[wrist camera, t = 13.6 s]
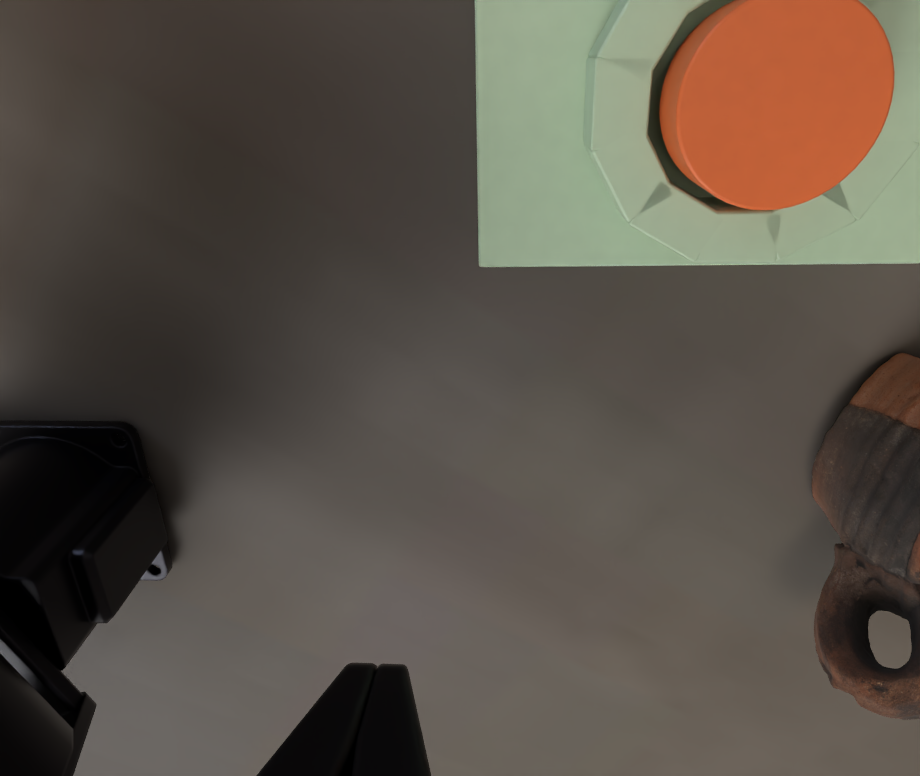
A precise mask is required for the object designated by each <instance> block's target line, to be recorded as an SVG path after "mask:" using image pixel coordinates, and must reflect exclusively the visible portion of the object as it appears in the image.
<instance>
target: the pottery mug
mask: <svg viewBox="0 0 920 776" xmlns="http://www.w3.org/2000/svg"><path fill="white" fill-rule="evenodd" d="M812 475H813V478H812V493H813V498H814V499H815V501H816V502H817V503H818V504H819V506H820V507H821V508H822V510H823V511H824V513H825V514H826V516H827V517H828V519H829V521H830V523H831V525H832V526H833V528H834V530H835V531H836V532H837V533H838V534H839V536H840V539H841V541H842V542H843V543H841V544H836V545H835V547H834V550H835V563H834V566H833V569H832V571H831V573H830V575H829V577H828V578H827V580H826V582H825V585H824V587H823V589H822V592H821V596H820V599H819V601H818V605H817V609H816V612H815V620H814V637H815V643H816V651H817V653H818V657H819V661H820V663H821V665H822V667H823V670H824V671H825V672H826V673H827V675H828V677H829V680H830V683H831V685H832V686H833V687H834V688H836V689H839V690H842V691H845V692H847V693H849V694H851V695H853V696H854V698H855V699H856V701H857V703H858V704H859V705H860V706H861V707H863V708H865V709H867V710H870V711H872V712H874V713H876V714H879V715H882V716H886V717H890V718H899V719H920V358H917V357H914V356H911V355H909V354H906V353H899V354H896V355H894V356H893V357H892V358H891V359H890V360H889V361H887V362H886V363H884V364H883V365H881V366H880V367H879V368H878V369H877V370H876V371H875V372H874V373H873V374H872V376H871V377H869V378H868V379H867V380H866V381H865V382H864V383H863V384H862V386H861V387H860V389H859V391H858V392H857V393H856V394H855V395H854V396H853V397H852V399H851V401H850V403H849V404H848V405H847V406H846V407H845V408H844V409H843V410H842V412H841V413H840V415H839V417H838V418H837V420H836V422H835V423H834V425H833V427H832V428H831V429H830V430H829V431H828V432H827V433H826V435H825V438H824V441H823V444H822V446H821V448H820V450H819V452H818V453H817V455H816V459H815V462H814V465H813V470H812ZM878 610H882V611H889V612H892V613H894V614H896V615H899V616H900V617H902V618H905V619H907V620H908V621H909V624H910V629H911V642H912V652H911V656H910V659H909V661H908V662H907V663H906V664H905V665H904V666H902V667H900V668H898V669H892V668H887V667H883V666H882V665H880V664H879V663H878V662H877V661H876V659H875V657H874V655H873V653H872V650H871V648H870V643H869V639H868V621H869V618H870V616H871V615H872V614H873V613H875V612H876V611H878Z"/></svg>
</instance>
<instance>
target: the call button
mask: <svg viewBox="0 0 920 776" xmlns="http://www.w3.org/2000/svg"><path fill="white" fill-rule="evenodd" d="M894 73H895V72H894V62H893V55H892V51H891V47H890V43H889V41H888V39H887V36H886V34H885V31H884V29H883V28H882V26H881V24H880V23H879V21H878V19H877V18H876V17H875V16H874V14H873V13H872V12H871V11H870V10H869V9H868V8H867V7H866V6H865V5H864V4H863V3H861V2H860V1H859V0H734V1H732V2H730V3H728V4H726V5H724V6H722V7H721V8H719V9H717V10H716V11H715V12H713V13H712V14H710V15H709V16H708V17H706V18H705V19H704V20H703V21H702V22H701V23H700V24H698V25H697V26H696V27H695V28H694V30H693V31H692V32H691V33H690V34H689V35H688V36H687V37H686V39H685V40H684V42H683V43H682V44H681V46H680V47H679V49H678V50H677V52H676V54H675V56H674V58H673V59H672V61H671V63H670V66H669V68H668V71H667V73H666V76H665V79H664V83H663V86H662V91H661V97H660V109H659V118H660V128H661V132H662V137H663V141H664V143H665V146H666V148H667V151H668V153H669V155H670V157H671V158H672V160H673V162H674V163H675V164H676V166H677V167H678V168H679V170H680V171H681V172H682V173H683V174H684V175H685V176H686V177H687V178H688V179H690V180H691V181H693V182H694V183H695V184H697V185H698V186H700V187H701V188H703V189H704V190H706V191H707V192H709V193H710V194H712V195H713V196H715V197H716V198H718V199H720V200H722V201H724V202H726V203H728V204H731V205H734V206H737V207H740V208H745V209H751V210H778V209H783V208H788V207H793V206H796V205H799V204H802V203H805V202H807V201H809V200H812V199H814V198H816V197H818V196H820V195H822V194H823V193H825V192H827V191H828V190H830V189H832V188H833V187H834V186H836V185H837V184H838V183H840V182H841V181H842V180H843V179H845V178H846V177H847V176H848V175H849V174H850V173H851V172H852V171H853V170H854V169H855V168H856V167H857V166H858V165H859V164H860V163H861V161H862V160H863V159H864V158H865V157H866V155H867V154H868V152H869V151H870V149H871V148H872V147H873V145H874V144H875V142H876V140H877V138H878V136H879V134H880V133H881V131H882V128H883V126H884V124H885V121H886V119H887V116H888V113H889V109H890V106H891V102H892V96H893V90H894Z"/></svg>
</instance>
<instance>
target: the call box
mask: <svg viewBox="0 0 920 776" xmlns="http://www.w3.org/2000/svg"><path fill="white" fill-rule="evenodd" d="M732 1H734V0H475V51H476V116H477V181H478V246H479V266H481V267H551V266H670V265H788V264H907V263H920V0H859V1H860V2H861V3H863V4H864V5H865V6H866V7H867V8H868V9H869V10H870V11H871V12H872V13H873V14H874V16H875V17H876V18H877V19H878V21H879V23H880V24H881V26H882V28H883V29H884V31H885V34H886V36H887V39H888V41H889V43H890V47H891V51H892V55H893V62H894V72H895V73H894V90H893V96H892V102H891V106H890V109H889V113H888V116H887V119H886V121H885V124H884V126H883V128H882V131H881V133H880V134H879V136H878V138H877V140H876V142H875V144H874V145H873V147H872V148H871V149H870V151H869V152H868V154H867V155H866V157H865V158H864V159H863V160H862V161H861V163H860V164H859V165H858V166H857V167H856V168H855V169H854V170H853V171H852V172H851V173H850V174H849V175H848V176H847V177H846V178H845V179H843V180H842V181H841V182H840V183H838V184H837V185H836V186H834V187H833V188H832V189H830V190H828V191H827V192H825V193H823V194H822V195H820V196H818V197H816V198H814V199H812V200H809V201H807V202H805V203H802V204H799V205H796V206H793V207H788V208H783V209H778V210H751V209H745V208H740V207H737V206H734V205H731V204H728V203H726V202H724V201H722V200H720V199H718V198H716V197H715V196H713V195H712V194H710V193H709V192H707V191H706V190H704V189H703V188H701V187H700V186H698V185H697V184H695V183H694V182H693V181H691V180H690V179H688V178H687V177H686V176H685V175H684V174H683V173H682V172H681V171H680V170H679V168H678V167H677V166H676V164H675V163H674V162H673V160H672V158H671V157H670V155H669V153H668V151H667V148H666V146H665V143H664V141H663V137H662V132H661V128H660V118H659V109H660V97H661V91H662V86H663V83H664V79H665V76H666V73H667V71H668V68H669V66H670V63H671V61H672V59H673V58H674V56H675V54H676V52H677V50H678V49H679V47H680V46H681V44H682V43H683V42H684V40H685V39H686V37H687V36H688V35H689V34H690V33H691V32H692V31H693V30H694V28H695V27H696V26H697V25H698V24H700V23H701V22H702V21H703V20H704V19H705V18H706V17H708V16H709V15H710V14H712V13H713V12H715V11H716V10H717V9H719V8H721V7H722V6H724V5H726V4H728V3H730V2H732Z"/></svg>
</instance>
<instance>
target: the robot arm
mask: <svg viewBox="0 0 920 776" xmlns="http://www.w3.org/2000/svg"><path fill="white" fill-rule="evenodd" d="M117 434H120V435H122V436H123V437H124V438H125V440H126V441H123V440H121V439H120V438H119V437H118V435H117ZM167 541H168V537H167V533H166V529H165V525H164V521H163V517H162V513H161V510H160V506H159V502H158V498H157V494H156V490H155V486H154V484H153V483H152V481H151V480H150V477H149V473H148V469H147V465H146V461H145V457H144V454H143V450H142V446H141V442H140V438H139V434H138V432H137V430H136V429H135V428H134V427H133V426H132V425H130V424H128V423H126V422H109V421H0V776H73V774H74V771H75V768H76V765H77V762H78V759H79V756H80V753H81V750H82V747H83V744H84V741H85V738H86V735H87V732H88V729H89V726H90V723H91V720H92V718H93V715H94V712H95V709H96V703H95V702H94V701H93V700H92V699H91V698H90V697H89V696H88V694H87V693H86V692H80V691H79V690H78V689H77V688H76V687H75V686H74V685H73V684H72V682H71V681H70V680H69V679H68V678H67V677H66V676H65V675H64V674H63V673H62V672H61V670H63V669H64V668H65V667H66V665H67V664H68V663H69V661H70V660H71V659H72V657H73V656H74V655H75V653H76V652H77V650H78V649H79V648H80V646H81V645H82V644H83V642H84V641H85V640H86V638H87V637H88V636H89V634H90V633H91V631H92V630H93V629H94V627H95V626H96V625H97V623H107V622H108V621H110V620H111V619H112V618H113V616H114V615H115V614H116V613H117V611H118V610H119V608H120V607H121V606H122V604H123V603H124V601H125V600H126V599H127V597H128V596H129V594H130V593H131V592H132V590H133V589H134V587H135V586H136V585H137V583H138V582H139V580H156V581H157V580H162V579H164V578H165V577H166V576H167V574H168V573H169V571H170V570H171V568H172V561H171V557H170V554H169V550H168V546H167ZM154 565H157V566H158V567H159V568H157V567H156V566H154ZM257 776H431V772H430V768H429V763H428V759H427V754H426V750H425V745H424V741H423V736H422V731H421V727H420V722H419V718H418V713H417V709H416V704H415V700H414V695H413V691H412V686H411V681H410V677H409V672H408V669H407V667H406V666H405V665H403V664H381V665H379V666H378V668H377V666H376V665H375V664H373V663H350V664H348V665H346V666H345V667H344V669H343V670H342V671H341V672H340V674H339V675H338V676H337V677H336V678H335V680H334V681H333V682H332V683H331V685H330V686H329V687H328V688H327V690H326V691H325V692H324V693H323V694H322V696H321V697H320V698H319V699H318V701H317V702H316V703H315V704H314V706H313V707H312V708H311V709H310V710H309V712H308V713H307V714H306V715H305V717H304V718H303V719H302V720H301V722H300V723H299V724H298V725H297V726H296V728H295V729H294V730H293V731H292V733H291V734H290V735H289V736H288V738H287V739H286V740H285V741H284V743H283V744H282V745H281V746H280V747H279V749H278V750H277V751H276V752H275V754H274V755H273V756H272V757H271V759H270V760H269V761H268V762H267V763H266V765H265V766H264V767H263V768H262V770H261V771H260V772H259V773H258V775H257Z"/></svg>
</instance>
